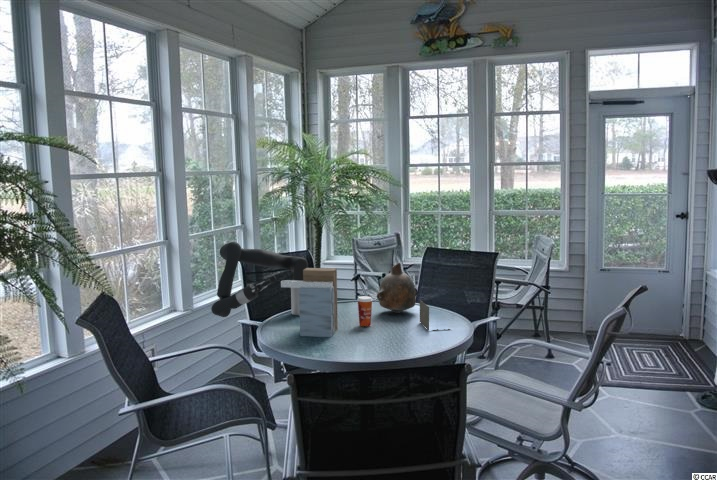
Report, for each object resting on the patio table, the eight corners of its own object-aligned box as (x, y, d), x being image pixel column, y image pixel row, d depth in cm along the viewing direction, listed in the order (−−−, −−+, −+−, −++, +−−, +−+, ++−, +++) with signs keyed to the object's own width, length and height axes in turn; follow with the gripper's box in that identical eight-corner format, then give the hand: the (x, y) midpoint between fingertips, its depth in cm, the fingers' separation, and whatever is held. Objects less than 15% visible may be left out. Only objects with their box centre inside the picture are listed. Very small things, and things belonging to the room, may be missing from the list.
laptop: (451, 331, 294) (452, 306, 292) (428, 332, 292) (428, 307, 291) (441, 322, 312) (441, 298, 310) (419, 323, 310) (419, 299, 308)
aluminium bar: (283, 285, 290) (282, 280, 290) (332, 287, 286) (332, 281, 286) (280, 287, 287) (280, 281, 287) (331, 288, 282) (331, 282, 282)
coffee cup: (361, 327, 300) (361, 299, 298) (354, 324, 307) (354, 297, 305) (375, 325, 303) (375, 298, 302) (368, 322, 311) (368, 295, 309)
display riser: (307, 328, 300) (306, 267, 297) (337, 329, 298) (336, 268, 294) (300, 335, 286) (298, 272, 282) (331, 337, 283) (330, 273, 279)
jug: (392, 306, 347) (392, 258, 344) (423, 311, 335) (423, 260, 331) (369, 315, 328) (369, 263, 324) (401, 320, 315) (401, 266, 312)
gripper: (238, 290, 285) (264, 275, 282) (248, 285, 299) (273, 270, 296) (245, 303, 285) (272, 288, 282) (255, 297, 299) (280, 283, 296)
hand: (272, 279), depth 289 cm, fingers open, 8 cm apart
